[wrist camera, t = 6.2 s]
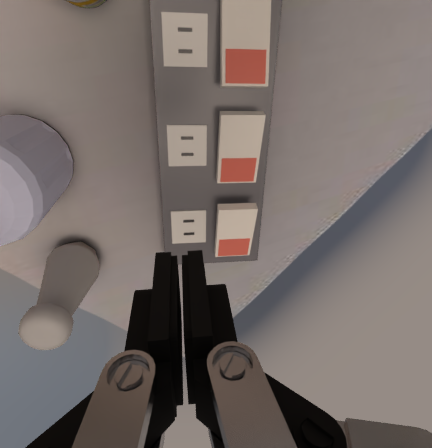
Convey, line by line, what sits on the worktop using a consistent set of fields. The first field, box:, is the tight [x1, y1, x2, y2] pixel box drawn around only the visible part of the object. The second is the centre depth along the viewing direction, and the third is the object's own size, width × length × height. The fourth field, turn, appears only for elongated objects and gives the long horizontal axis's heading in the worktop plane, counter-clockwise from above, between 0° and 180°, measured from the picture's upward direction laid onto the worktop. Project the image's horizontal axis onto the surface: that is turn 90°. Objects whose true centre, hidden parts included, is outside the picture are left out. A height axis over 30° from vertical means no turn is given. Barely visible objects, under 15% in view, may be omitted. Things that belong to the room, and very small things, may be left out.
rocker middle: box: [216, 111, 266, 183], centre depth 31 cm, size 7×4×1 cm, turn 178°
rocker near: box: [220, 0, 271, 88], centre depth 27 cm, size 7×4×1 cm, turn 179°
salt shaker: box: [18, 241, 100, 350], centre depth 34 cm, size 6×6×13 cm
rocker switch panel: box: [150, 0, 282, 264], centre depth 33 cm, size 28×11×4 cm, turn 179°
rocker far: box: [214, 203, 258, 257], centre depth 35 cm, size 7×4×1 cm, turn 178°
